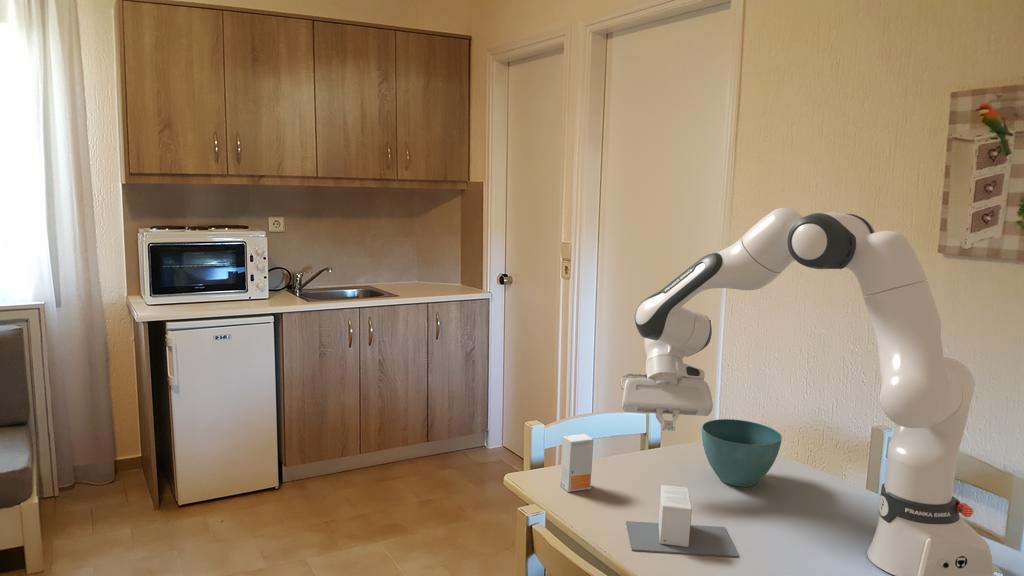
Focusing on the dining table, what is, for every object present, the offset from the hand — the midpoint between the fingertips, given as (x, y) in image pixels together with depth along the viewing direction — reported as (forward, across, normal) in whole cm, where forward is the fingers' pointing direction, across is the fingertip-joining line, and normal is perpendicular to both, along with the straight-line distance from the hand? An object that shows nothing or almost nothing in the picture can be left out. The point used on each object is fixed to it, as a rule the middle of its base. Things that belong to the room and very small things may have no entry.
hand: (668, 429), depth 163 cm
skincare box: (+10, -20, +12) cm, 25 cm away
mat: (+26, 0, -4) cm, 26 cm away
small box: (+18, 0, -2) cm, 18 cm away
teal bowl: (+3, +19, +19) cm, 27 cm away
